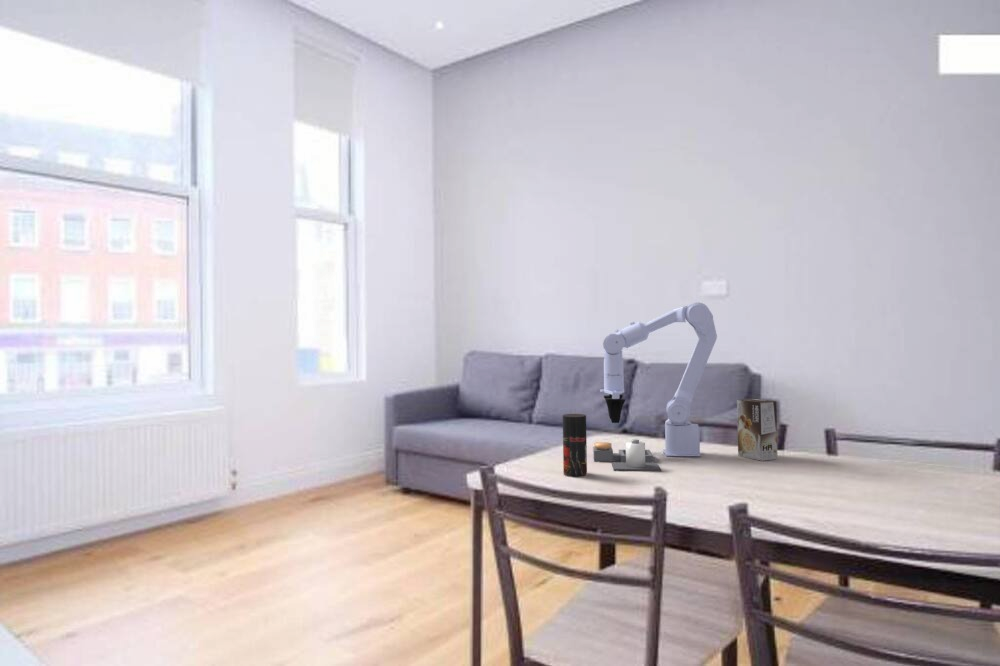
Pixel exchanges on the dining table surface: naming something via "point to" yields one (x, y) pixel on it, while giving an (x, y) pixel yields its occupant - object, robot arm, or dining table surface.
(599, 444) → the plunger
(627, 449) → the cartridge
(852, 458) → the dining table surface
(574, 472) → the deodorant
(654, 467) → the mat
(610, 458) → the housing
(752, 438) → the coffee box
